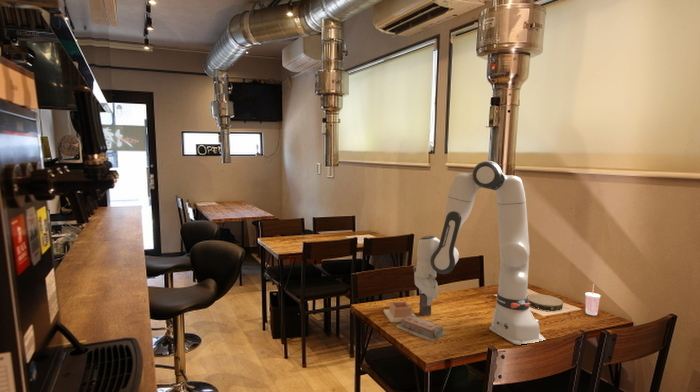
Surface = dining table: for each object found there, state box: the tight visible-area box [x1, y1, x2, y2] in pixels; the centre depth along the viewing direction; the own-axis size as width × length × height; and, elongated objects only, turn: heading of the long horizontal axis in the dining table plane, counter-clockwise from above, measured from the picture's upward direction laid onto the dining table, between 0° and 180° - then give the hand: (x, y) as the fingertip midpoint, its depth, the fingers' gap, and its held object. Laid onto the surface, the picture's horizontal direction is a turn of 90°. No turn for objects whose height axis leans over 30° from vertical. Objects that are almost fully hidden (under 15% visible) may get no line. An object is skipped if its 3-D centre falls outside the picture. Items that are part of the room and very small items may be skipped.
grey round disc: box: [527, 293, 564, 312], centre depth 199 cm, size 16×16×3 cm
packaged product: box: [395, 314, 446, 342], centre depth 167 cm, size 18×5×10 cm
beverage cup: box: [584, 283, 601, 316], centre depth 188 cm, size 6×6×14 cm
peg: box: [418, 293, 432, 317], centre depth 185 cm, size 4×4×9 cm
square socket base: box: [383, 301, 416, 323], centre depth 182 cm, size 12×12×5 cm
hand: (425, 301), depth 185 cm, fingers open, 7 cm apart
